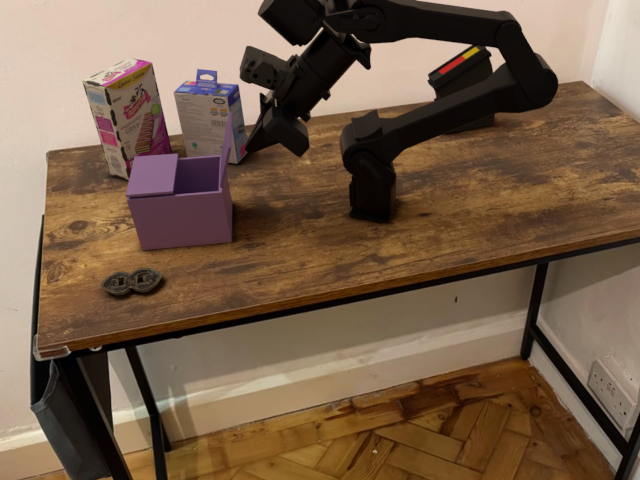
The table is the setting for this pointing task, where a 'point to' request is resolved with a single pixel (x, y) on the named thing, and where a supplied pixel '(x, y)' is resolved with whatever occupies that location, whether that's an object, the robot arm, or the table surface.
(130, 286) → the corroded twin loop
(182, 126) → the ink cartridge box
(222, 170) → the flap
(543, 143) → the table surface
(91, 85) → the candy bar box
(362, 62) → the robot arm
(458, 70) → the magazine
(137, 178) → the box
